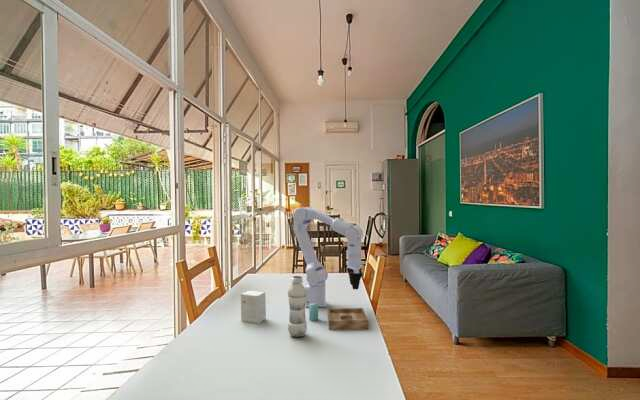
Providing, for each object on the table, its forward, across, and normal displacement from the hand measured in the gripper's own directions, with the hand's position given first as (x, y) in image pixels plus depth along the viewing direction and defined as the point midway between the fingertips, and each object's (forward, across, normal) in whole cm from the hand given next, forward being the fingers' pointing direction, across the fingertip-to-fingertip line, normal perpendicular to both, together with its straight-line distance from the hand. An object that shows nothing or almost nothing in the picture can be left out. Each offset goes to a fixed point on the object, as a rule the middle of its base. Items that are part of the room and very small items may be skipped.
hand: (354, 286), depth 146 cm
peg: (+10, -11, +17) cm, 23 cm away
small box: (+10, -10, +41) cm, 43 cm away
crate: (+10, -15, +5) cm, 18 cm away
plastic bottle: (+10, -27, +23) cm, 37 cm away
